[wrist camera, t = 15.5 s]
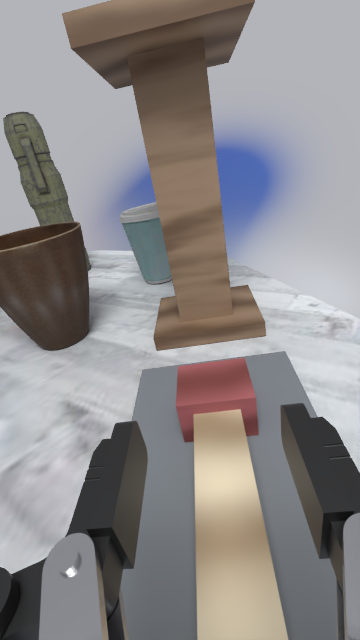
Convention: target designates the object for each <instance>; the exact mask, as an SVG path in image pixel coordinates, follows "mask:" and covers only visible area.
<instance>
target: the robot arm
mask: <svg viewBox="0 0 360 640" xmlns="http://www.w3.org/2000/svg"><path fill="white" fill-rule="evenodd" d="M280 412H281V438H282V444H283V448H284V452H285V455H286V458H287V461H288V464H289V467H290V471H291V474H292V477H293V480H294V483H295V486H296V489H297V492H298V495H299V498H300V501H301V504H302V507H303V511H304V514H305V517H306V520H307V523H308V526H309V529H310V532H311V535H312V538H313V541H314V544H315V547H316V551H317V554H318V557H319V559H329V558H330V561H331V564H332V567H333V569H334V572H335V575H336V582H335V585H336V637H337V640H360V473H359V471H358V469H357V467H356V466H355V464H354V462H353V460H352V458H350V454H349V453H348V451H347V449H346V447H345V446H344V444H343V441H342V440H341V438H340V436H339V434H338V432H337V430H336V429H335V428H334V427H333V426H332V425H331V424H330V423H329V422H328V421H327V420H325V419H324V418H323V417H316V418H311V417H310V415H309V413H308V411H307V409H306V407H305V405H304V404H303V403H295V404H286V405H281V407H280ZM147 465H148V454H147V448H146V445H145V442H144V439H143V436H142V433H141V430H140V428H139V425H138V422H137V421H129V422H120V423H116V424H115V426H114V429H113V433H112V436H111V439H103V440H102V441H101V443H100V444H99V445H98V447H97V448H96V450H95V451H94V452H93V455H92V458H91V461H90V465H89V470H88V471H87V474H86V477H85V482H84V483H83V486H82V490H81V493H80V496H79V499H78V502H77V505H76V508H75V512H74V515H73V518H72V521H71V524H70V527H69V530H68V532H67V534H66V536H65V538H63V539H62V540H60V541H59V542H58V543H57V544H56V545H55V546H54V548H53V549H52V550H51V552H50V553H49V555H48V557H47V558H45V559H44V560H42V561H40V562H38V563H36V564H33V565H31V566H29V567H27V568H24V569H22V570H20V571H18V572H16V573H13V574H10V573H9V572H8V571H7V570H6V569H4V568H2V567H0V640H129V637H128V630H127V624H126V617H125V610H124V603H123V596H122V591H121V587H120V585H121V579H122V573H123V569H134V564H135V557H136V549H137V541H138V534H139V526H140V519H141V511H142V503H143V496H144V488H145V480H146V473H147Z"/></svg>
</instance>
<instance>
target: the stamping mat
mask: <svg viewBox="0 0 360 640" xmlns="http://www.w3.org/2000/svg"><path fill="white" fill-rule="evenodd" d="M238 358H245V361H246V364H247V368H248V371H249V375H250V378H251V382H252V385H253V389H254V392H255V396H256V405H257V418H258V430H259V435H254V436H246V438H247V442H248V447H249V452H250V457H251V462H252V467H253V471H254V476H255V481H256V486H257V491H258V496H259V500H260V505H261V510H262V515H263V520H264V525H265V529H266V534H267V539H268V544H269V549H270V553H271V558H272V563H273V568H274V573H275V578H276V582H277V587H278V592H279V597H280V602H281V607H282V611H283V616H284V621H285V626H286V631H287V636H288V640H337V637H336V585H335V582H336V575H335V572H334V569H333V567H332V564H331V561H330V558H329V559H319V557H318V554H317V551H316V547H315V544H314V541H313V538H312V535H311V532H310V529H309V526H308V523H307V520H306V517H305V514H304V511H303V507H302V504H301V501H300V498H299V495H298V492H297V489H296V486H295V483H294V480H293V477H292V474H291V471H290V467H289V464H288V461H287V458H286V455H285V452H284V448H283V444H282V438H281V412H280V407H281V405H286V404H295V403H303V404H304V405H305V407H306V409H307V411H308V413H309V415H310V417H311V418H316V417H317V415H316V413H315V411H314V409H313V407H312V405H311V403H310V401H309V399H308V397H307V395H306V393H305V391H304V389H303V386H302V384H301V382H300V380H299V378H298V376H297V374H296V372H295V370H294V368H293V366H292V364H291V362H290V360H289V358H288V356H287V354H286V352H285V351H283V352H275V353H268V354H260V355H252V356H245V357H237V358H229V359H222V360H230V359H238ZM222 360H214V361H206V362H198V363H191V364H199V363H207V362H215V361H222ZM191 364H183V365H175V366H168V367H160V368H152V369H145V370H142V375H141V379H140V384H139V389H138V393H137V398H136V403H135V407H134V412H133V417H132V421H137V422H138V425H139V428H140V430H141V433H142V436H143V439H144V442H145V445H146V448H147V454H148V465H147V473H146V480H145V488H144V496H143V503H142V511H141V519H140V526H139V534H138V541H137V549H136V557H135V564H134V569H123V573H122V579H121V585H120V587H121V591H122V596H123V603H124V610H125V617H126V624H127V630H128V637H129V640H197V584H196V528H195V473H194V442H184V438H183V434H182V430H181V426H180V422H179V418H178V414H177V410H176V392H177V373H178V366H184V365H191Z"/></svg>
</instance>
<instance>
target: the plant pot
mask: <svg viewBox="0 0 360 640" xmlns="http://www.w3.org/2000/svg"><path fill="white" fill-rule="evenodd" d="M0 307H1V308H2V309H3V310H4V311H5V312H6V314H7V315H8V316H9V317H10V318H11V319H12V320H13V321H14V322H15V323H16V324H17V325H18V326H19V327H20V328H21V329H22V330H23V331H24V332H25V333H26V334H27V335H28V336H29V337H30V338H31V339H33V340H34V341H35V342H36V343H37V344H38V345H39V346H41V347H42V348H43V349H46V350H58V349H63V348H66V347H69V346H71V345H74V344H75V343H77V342H79V341H80V340H82V339H83V338H84V337H85V336H86V335H87V333H88V327H89V282H88V270H87V261H86V254H85V247H84V241H83V236H82V231H81V226H80V223H78V222H63V223H55V224H49V225H44V226H39V227H34V228H29V229H25V230H21V231H16V232H13V233H9V234H5V235H1V236H0Z"/></svg>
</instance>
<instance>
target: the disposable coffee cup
mask: <svg viewBox="0 0 360 640" xmlns="http://www.w3.org/2000/svg"><path fill="white" fill-rule="evenodd" d="M120 221H121V222H122V225H123V227H124V230H125V232H126V235H127V237H128V240H129V242H130V245H131V247H132V250H133V252H134V255H135V257H136V260H137V262H138V265H139V267H140V270H141V272H142V275H143V278H144V279H145V280H146V282H147V283H149V284H158V283H164V282H167V281H170V280H171V279H172V276H171V271H170V266H169V261H168V256H167V251H166V246H165V241H164V236H163V232H162V227H161V222H160V217H159V212H158V207H157V202H154V203H150V204H146V205H143V206H139V207H135V208H132V209H129V210H126V211H124V212H122V215H120Z"/></svg>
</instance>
